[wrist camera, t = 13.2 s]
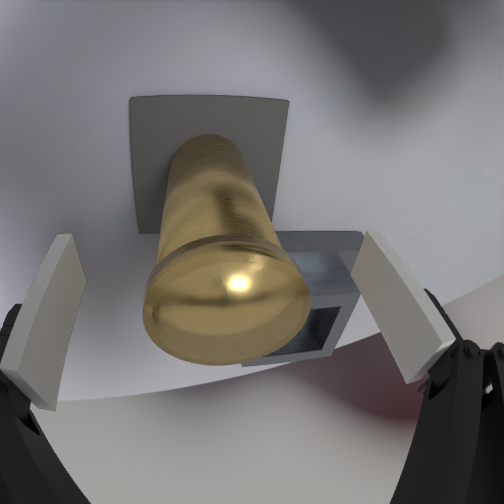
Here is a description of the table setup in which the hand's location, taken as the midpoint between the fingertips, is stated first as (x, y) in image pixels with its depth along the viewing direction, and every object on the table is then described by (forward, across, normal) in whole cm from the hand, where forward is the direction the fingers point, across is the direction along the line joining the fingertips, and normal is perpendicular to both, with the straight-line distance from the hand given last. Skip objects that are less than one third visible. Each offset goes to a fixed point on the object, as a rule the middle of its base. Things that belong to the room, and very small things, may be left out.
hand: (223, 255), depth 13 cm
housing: (+11, +8, -14) cm, 19 cm away
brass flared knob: (+11, 0, 0) cm, 11 cm away
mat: (+11, 0, 0) cm, 11 cm away
